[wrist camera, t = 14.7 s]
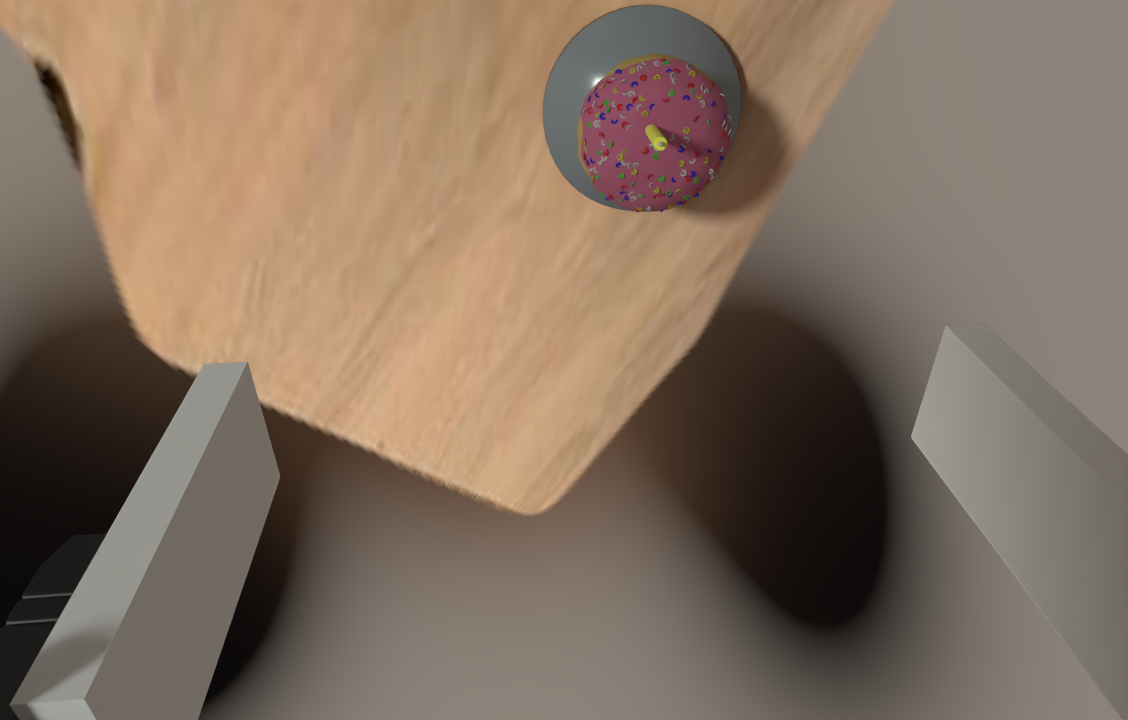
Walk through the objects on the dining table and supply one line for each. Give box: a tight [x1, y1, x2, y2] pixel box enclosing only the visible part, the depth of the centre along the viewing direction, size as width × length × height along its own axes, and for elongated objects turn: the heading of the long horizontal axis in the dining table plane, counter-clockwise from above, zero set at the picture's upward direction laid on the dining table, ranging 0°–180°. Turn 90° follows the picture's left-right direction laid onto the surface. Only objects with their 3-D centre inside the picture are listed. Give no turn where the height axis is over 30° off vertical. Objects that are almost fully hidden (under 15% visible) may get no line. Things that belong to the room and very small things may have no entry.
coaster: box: [543, 5, 741, 210], centre depth 46 cm, size 12×12×1 cm
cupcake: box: [577, 54, 732, 212], centre depth 40 cm, size 9×8×12 cm
